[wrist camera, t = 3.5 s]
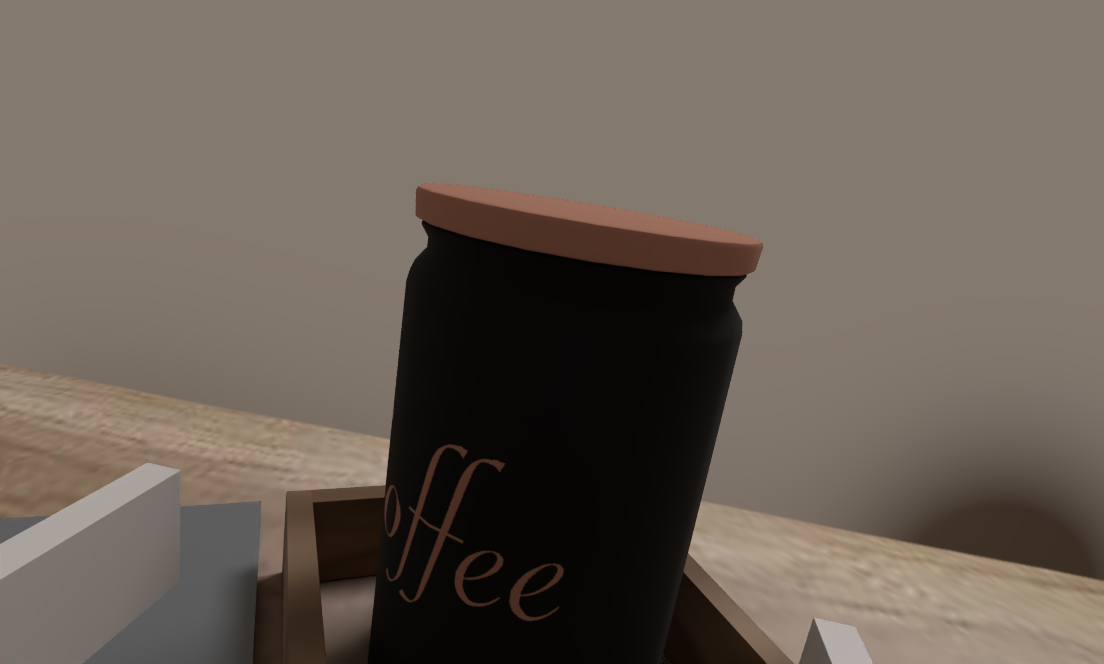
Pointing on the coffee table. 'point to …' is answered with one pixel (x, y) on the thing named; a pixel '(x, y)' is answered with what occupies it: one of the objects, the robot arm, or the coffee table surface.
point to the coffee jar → (550, 428)
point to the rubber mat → (194, 593)
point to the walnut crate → (352, 551)
